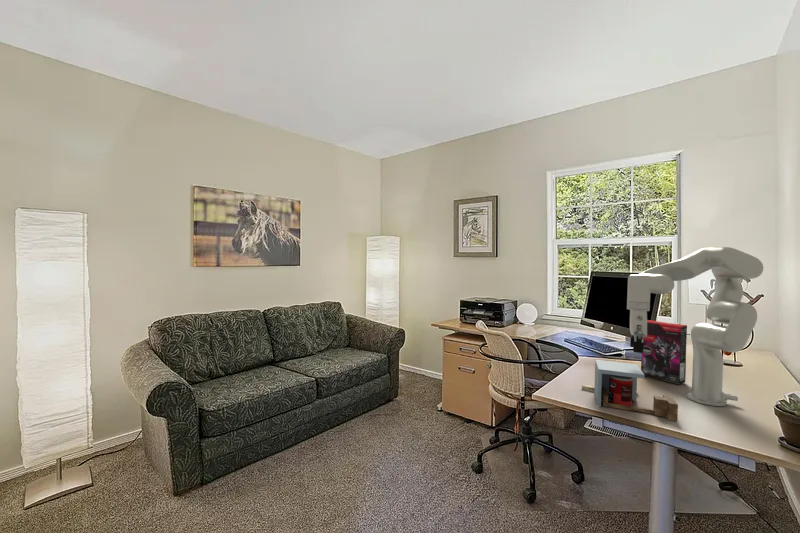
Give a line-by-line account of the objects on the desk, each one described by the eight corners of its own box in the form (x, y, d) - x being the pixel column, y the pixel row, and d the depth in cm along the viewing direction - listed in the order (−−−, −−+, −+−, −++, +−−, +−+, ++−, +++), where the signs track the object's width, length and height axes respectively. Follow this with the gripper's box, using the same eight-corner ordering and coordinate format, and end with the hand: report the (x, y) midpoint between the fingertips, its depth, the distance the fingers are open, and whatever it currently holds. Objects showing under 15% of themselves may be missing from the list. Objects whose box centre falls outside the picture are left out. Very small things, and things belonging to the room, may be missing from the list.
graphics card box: (639, 375, 184) (641, 320, 183) (646, 373, 188) (648, 319, 187) (679, 385, 170) (681, 326, 169) (686, 383, 173) (688, 325, 173)
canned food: (610, 398, 152) (611, 371, 152) (633, 403, 147) (634, 376, 147) (606, 404, 146) (607, 376, 146) (630, 409, 141) (631, 380, 141)
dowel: (613, 395, 157) (614, 390, 157) (613, 396, 155) (613, 392, 155) (582, 388, 164) (583, 384, 164) (581, 390, 162) (582, 385, 162)
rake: (666, 406, 144) (667, 391, 144) (677, 421, 131) (677, 404, 131) (600, 396, 154) (601, 382, 153) (604, 409, 140) (604, 393, 140)
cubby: (635, 399, 151) (637, 364, 151) (643, 413, 137) (644, 374, 137) (594, 393, 157) (595, 359, 157) (597, 406, 144) (598, 369, 143)
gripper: (653, 309, 136) (651, 356, 136) (646, 304, 151) (644, 346, 152) (629, 307, 139) (627, 353, 139) (624, 303, 154) (623, 344, 155)
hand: (636, 349), depth 145 cm, fingers open, 9 cm apart
